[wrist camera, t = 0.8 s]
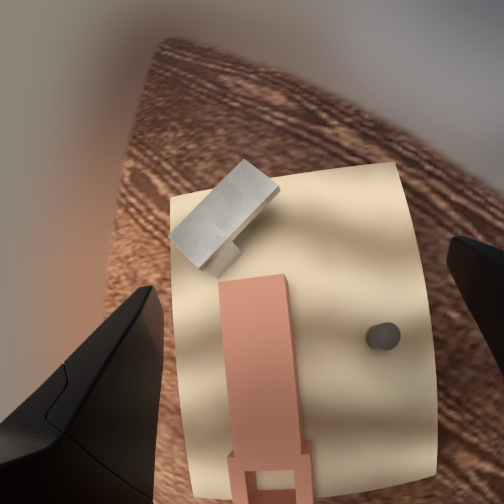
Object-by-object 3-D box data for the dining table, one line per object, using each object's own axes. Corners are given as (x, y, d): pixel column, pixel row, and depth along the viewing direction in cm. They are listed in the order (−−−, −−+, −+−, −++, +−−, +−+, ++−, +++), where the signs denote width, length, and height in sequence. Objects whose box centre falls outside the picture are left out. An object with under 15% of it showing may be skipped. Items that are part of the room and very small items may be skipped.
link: (314, 498, 17) (313, 518, 14) (245, 500, 18) (235, 519, 15) (295, 281, 22) (292, 272, 19) (224, 290, 22) (210, 283, 20)
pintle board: (431, 469, 17) (450, 491, 13) (199, 491, 20) (177, 514, 15) (391, 169, 23) (402, 138, 19) (176, 203, 26) (152, 179, 22)
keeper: (286, 212, 23) (278, 185, 19) (220, 282, 23) (198, 268, 18) (256, 189, 24) (244, 158, 20) (193, 254, 24) (167, 236, 19)
